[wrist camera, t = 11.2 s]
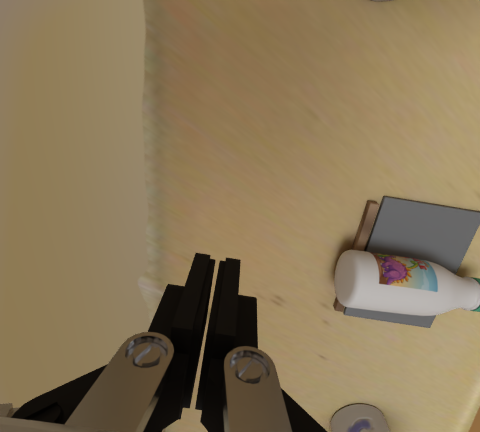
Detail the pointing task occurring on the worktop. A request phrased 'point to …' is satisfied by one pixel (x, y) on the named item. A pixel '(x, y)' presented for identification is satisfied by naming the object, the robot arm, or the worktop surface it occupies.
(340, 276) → the milk bottle
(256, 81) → the worktop surface
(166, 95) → the worktop surface
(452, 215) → the mat
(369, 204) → the rail
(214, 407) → the robot arm
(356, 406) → the container
